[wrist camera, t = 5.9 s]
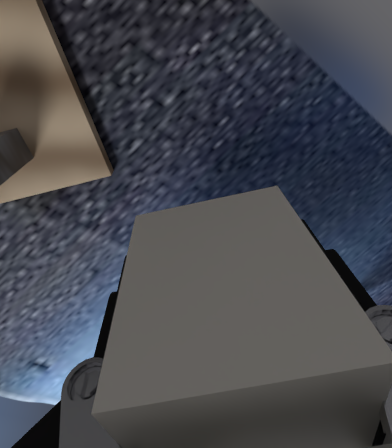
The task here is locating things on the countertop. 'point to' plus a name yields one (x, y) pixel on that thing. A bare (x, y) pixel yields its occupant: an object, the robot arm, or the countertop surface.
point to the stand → (41, 109)
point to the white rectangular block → (238, 335)
